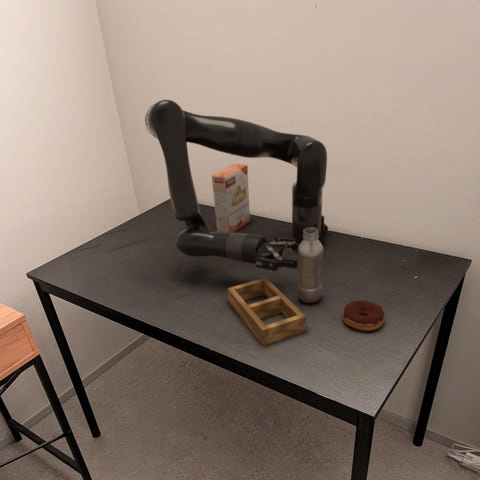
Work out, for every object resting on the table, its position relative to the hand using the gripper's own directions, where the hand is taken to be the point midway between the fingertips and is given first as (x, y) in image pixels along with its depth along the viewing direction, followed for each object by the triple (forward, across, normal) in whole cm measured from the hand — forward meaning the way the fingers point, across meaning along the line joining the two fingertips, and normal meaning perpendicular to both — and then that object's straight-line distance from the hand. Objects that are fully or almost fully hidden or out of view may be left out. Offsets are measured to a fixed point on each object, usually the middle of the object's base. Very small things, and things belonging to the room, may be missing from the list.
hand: (303, 256), depth 115 cm
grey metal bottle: (+2, 0, +13) cm, 13 cm away
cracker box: (-38, +36, +13) cm, 54 cm away
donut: (+17, -5, +13) cm, 22 cm away
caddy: (-6, -11, +12) cm, 18 cm away
